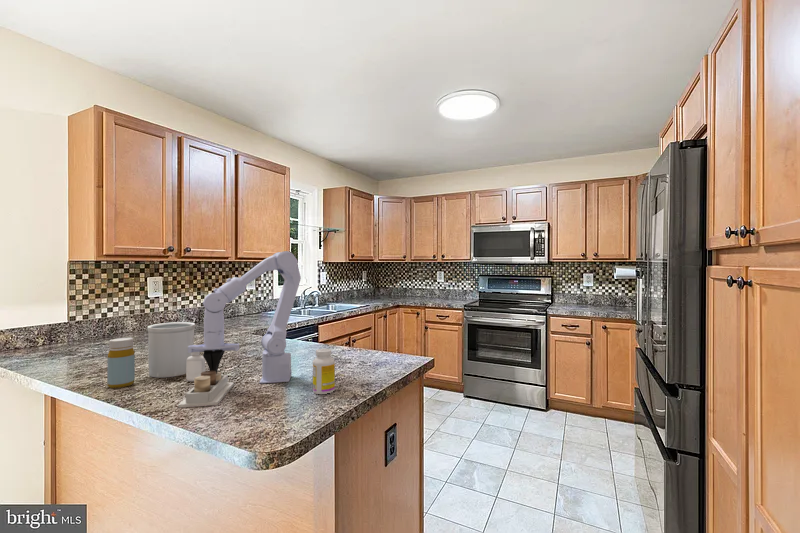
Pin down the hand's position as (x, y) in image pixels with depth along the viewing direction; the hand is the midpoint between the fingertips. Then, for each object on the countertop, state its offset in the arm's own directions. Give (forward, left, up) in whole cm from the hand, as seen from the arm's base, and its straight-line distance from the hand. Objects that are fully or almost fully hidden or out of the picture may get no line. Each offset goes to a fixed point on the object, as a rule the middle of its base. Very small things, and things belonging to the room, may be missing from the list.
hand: (213, 374), depth 114 cm
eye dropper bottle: (+9, -12, -5) cm, 15 cm away
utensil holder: (+21, -24, -5) cm, 32 cm away
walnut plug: (0, +6, -2) cm, 6 cm away
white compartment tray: (0, +5, -5) cm, 7 cm away
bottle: (+31, -11, -5) cm, 33 cm away
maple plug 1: (0, +11, -2) cm, 11 cm away
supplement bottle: (-34, +9, -5) cm, 36 cm away
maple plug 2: (0, 0, -4) cm, 4 cm away
